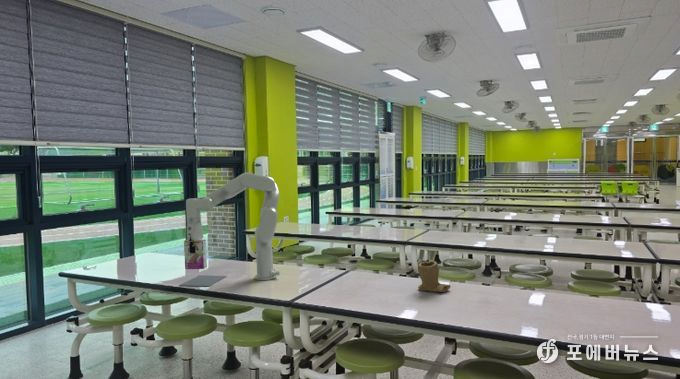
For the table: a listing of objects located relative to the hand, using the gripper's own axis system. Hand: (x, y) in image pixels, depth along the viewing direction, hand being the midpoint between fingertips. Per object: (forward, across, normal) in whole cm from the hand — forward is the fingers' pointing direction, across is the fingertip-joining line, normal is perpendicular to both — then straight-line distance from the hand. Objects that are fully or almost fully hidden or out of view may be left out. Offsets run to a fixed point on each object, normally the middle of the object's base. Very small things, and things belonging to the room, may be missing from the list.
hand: (195, 251), depth 254 cm
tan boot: (+18, +1, -131) cm, 132 cm away
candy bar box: (+10, 0, 0) cm, 10 cm away
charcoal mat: (+19, +7, 0) cm, 20 cm away
